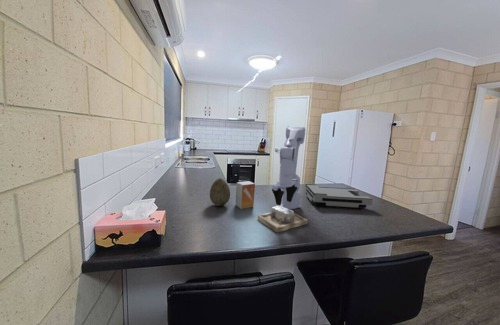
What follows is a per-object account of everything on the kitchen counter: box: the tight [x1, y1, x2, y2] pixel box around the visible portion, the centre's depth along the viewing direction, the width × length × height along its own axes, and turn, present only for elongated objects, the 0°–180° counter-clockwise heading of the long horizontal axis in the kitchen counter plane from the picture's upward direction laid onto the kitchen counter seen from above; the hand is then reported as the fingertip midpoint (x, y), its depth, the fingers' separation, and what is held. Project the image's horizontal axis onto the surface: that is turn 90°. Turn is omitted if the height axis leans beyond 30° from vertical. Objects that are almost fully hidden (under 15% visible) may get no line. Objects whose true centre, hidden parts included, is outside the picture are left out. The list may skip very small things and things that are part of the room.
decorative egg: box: [209, 177, 231, 207], centre depth 109 cm, size 11×11×15 cm
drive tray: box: [257, 212, 308, 233], centre depth 95 cm, size 18×14×4 cm
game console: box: [304, 183, 374, 211], centre depth 125 cm, size 21×32×8 cm, turn 89°
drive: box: [271, 205, 295, 223], centre depth 95 cm, size 5×9×5 cm, turn 41°
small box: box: [235, 180, 256, 210], centre depth 111 cm, size 8×6×13 cm
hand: (283, 202), depth 94 cm, fingers open, 7 cm apart
